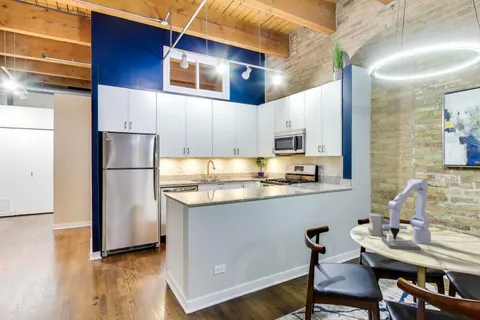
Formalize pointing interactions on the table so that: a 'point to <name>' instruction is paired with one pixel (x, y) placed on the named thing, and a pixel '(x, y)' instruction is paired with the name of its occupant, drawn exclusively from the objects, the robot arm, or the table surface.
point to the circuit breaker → (377, 225)
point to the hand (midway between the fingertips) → (394, 239)
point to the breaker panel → (401, 244)
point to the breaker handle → (390, 237)
